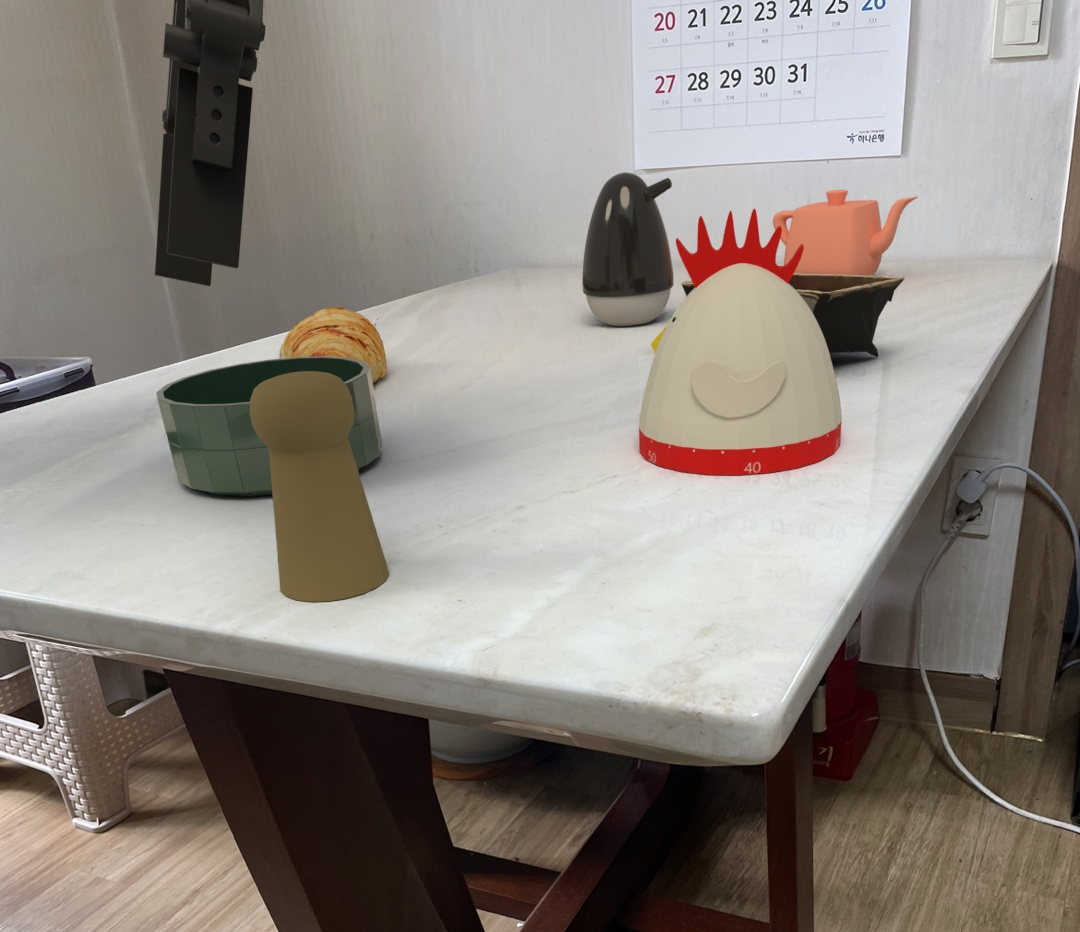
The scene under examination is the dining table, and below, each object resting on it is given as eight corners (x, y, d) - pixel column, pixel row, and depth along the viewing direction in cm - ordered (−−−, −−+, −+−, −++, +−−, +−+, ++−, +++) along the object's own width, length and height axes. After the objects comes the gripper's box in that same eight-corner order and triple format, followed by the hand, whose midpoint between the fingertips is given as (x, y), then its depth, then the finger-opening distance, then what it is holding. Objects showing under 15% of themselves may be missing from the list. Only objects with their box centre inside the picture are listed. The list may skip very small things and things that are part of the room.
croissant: (372, 439, 96) (401, 355, 93) (264, 398, 93) (291, 310, 90) (370, 385, 114) (395, 314, 111) (280, 349, 111) (302, 275, 108)
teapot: (788, 274, 140) (791, 188, 135) (924, 275, 131) (933, 182, 125) (752, 288, 132) (754, 197, 127) (894, 290, 123) (903, 192, 118)
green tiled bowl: (138, 499, 74) (112, 407, 70) (245, 440, 86) (227, 358, 83) (328, 502, 70) (310, 404, 66) (413, 439, 82) (401, 354, 79)
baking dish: (776, 360, 105) (762, 254, 100) (929, 350, 91) (921, 227, 86) (671, 400, 98) (652, 289, 94) (819, 397, 84) (804, 266, 80)
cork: (256, 591, 57) (208, 385, 51) (333, 553, 61) (295, 359, 56) (337, 609, 54) (294, 393, 48) (411, 568, 58) (380, 364, 53)
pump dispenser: (657, 331, 113) (654, 173, 105) (570, 330, 117) (561, 179, 109) (688, 313, 120) (687, 165, 113) (605, 314, 125) (598, 171, 117)
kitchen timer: (647, 422, 81) (642, 208, 73) (831, 415, 78) (844, 193, 71) (632, 478, 69) (623, 229, 61) (847, 472, 66) (866, 212, 59)
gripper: (394, -453, 32) (321, 271, 38) (281, -130, 54) (245, 300, 60) (136, -583, 29) (99, 223, 35) (126, -185, 51) (104, 271, 57)
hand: (191, 272), depth 48 cm, fingers open, 13 cm apart
